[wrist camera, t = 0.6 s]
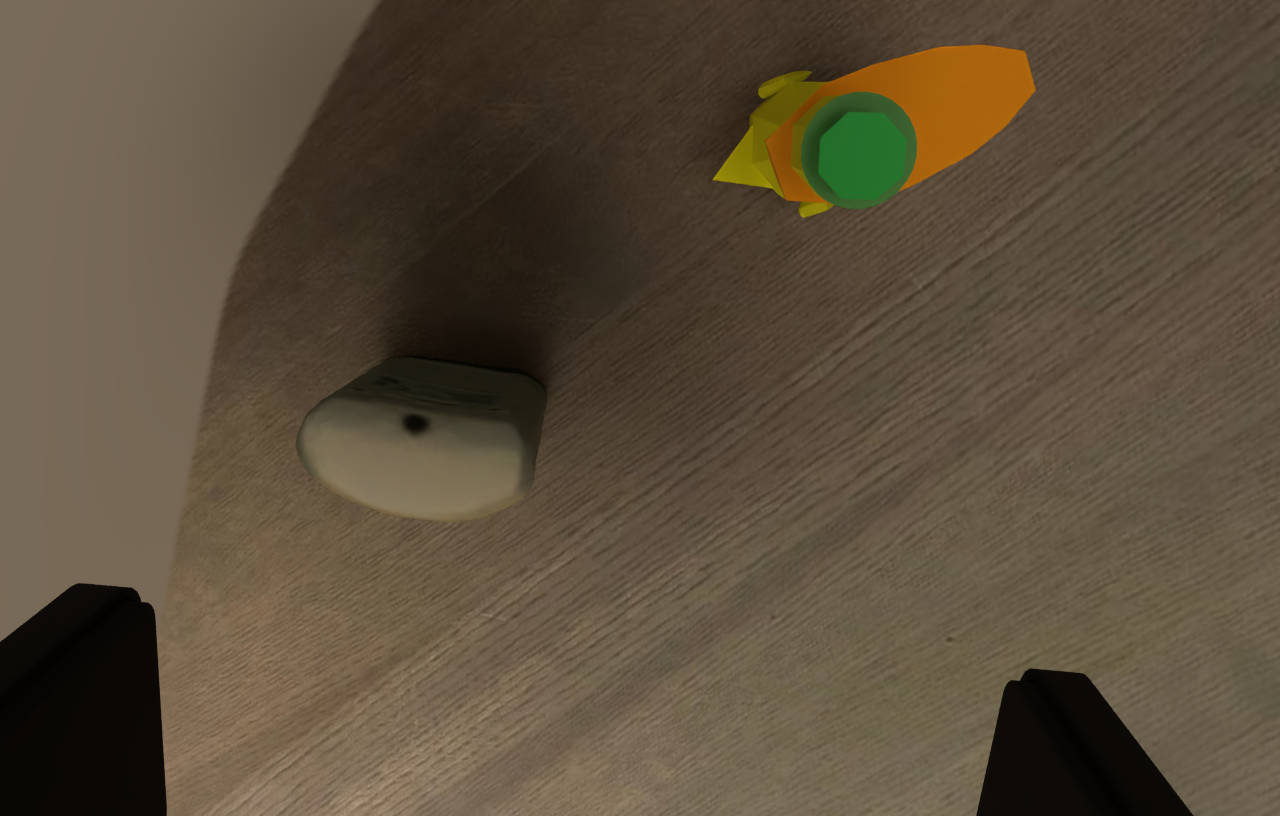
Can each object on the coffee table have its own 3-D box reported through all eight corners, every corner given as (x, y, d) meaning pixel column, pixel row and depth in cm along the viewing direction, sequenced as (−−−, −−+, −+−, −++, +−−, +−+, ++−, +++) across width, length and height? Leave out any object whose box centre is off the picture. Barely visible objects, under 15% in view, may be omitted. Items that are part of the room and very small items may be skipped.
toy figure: (907, 21, 28) (1079, -42, 16) (943, 143, 29) (1130, 165, 17) (684, 113, 29) (698, 115, 17) (726, 228, 30) (766, 303, 18)
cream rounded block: (517, 280, 30) (466, 337, 22) (590, 427, 31) (566, 528, 24) (356, 355, 31) (254, 435, 23) (434, 495, 32) (362, 614, 25)
